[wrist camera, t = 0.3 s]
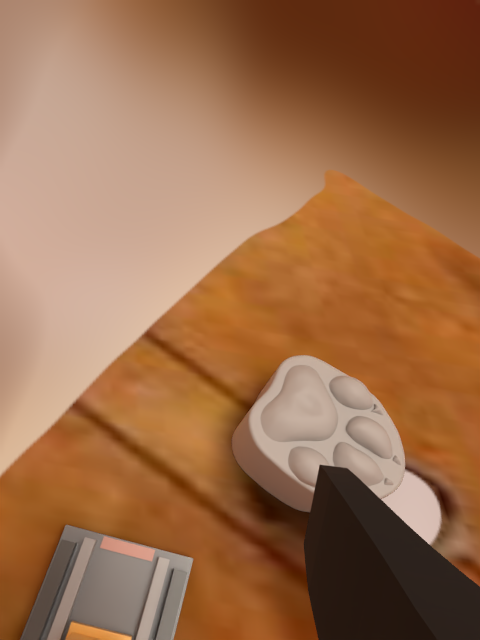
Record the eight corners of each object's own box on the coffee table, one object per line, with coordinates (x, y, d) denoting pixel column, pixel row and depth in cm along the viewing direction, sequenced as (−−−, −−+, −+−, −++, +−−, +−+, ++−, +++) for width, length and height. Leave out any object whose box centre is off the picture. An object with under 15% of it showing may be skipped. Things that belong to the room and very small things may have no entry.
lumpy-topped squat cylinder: (274, 370, 44) (302, 331, 37) (384, 445, 43) (435, 421, 35) (217, 455, 39) (236, 430, 32) (340, 545, 37) (390, 540, 30)
